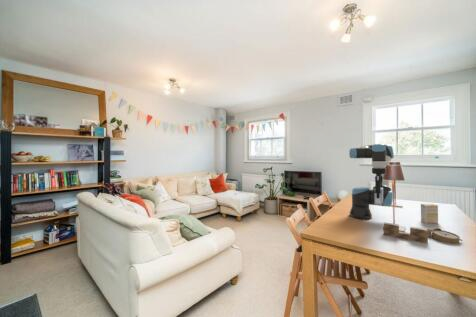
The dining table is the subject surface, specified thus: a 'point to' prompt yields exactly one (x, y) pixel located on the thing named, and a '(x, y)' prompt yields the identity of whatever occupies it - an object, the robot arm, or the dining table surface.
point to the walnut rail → (414, 234)
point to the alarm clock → (443, 236)
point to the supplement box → (429, 213)
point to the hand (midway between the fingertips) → (378, 201)
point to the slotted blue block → (381, 197)
